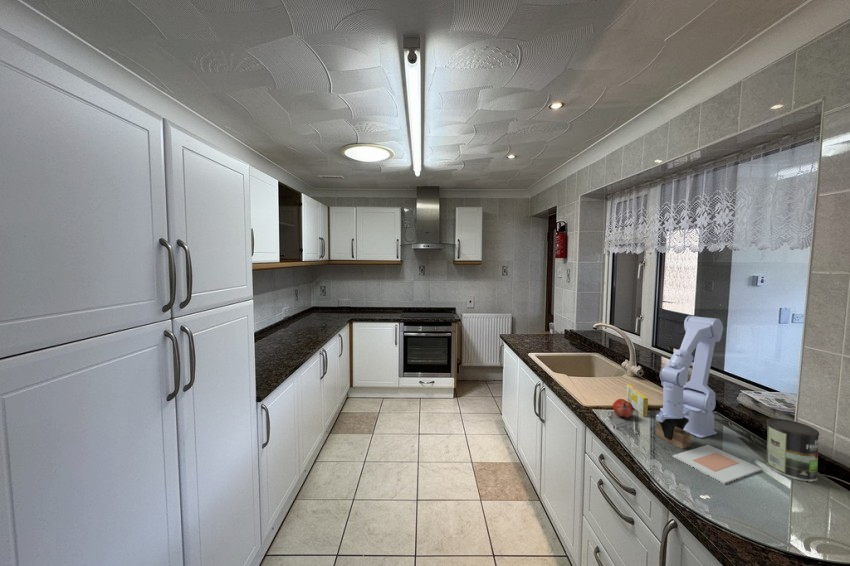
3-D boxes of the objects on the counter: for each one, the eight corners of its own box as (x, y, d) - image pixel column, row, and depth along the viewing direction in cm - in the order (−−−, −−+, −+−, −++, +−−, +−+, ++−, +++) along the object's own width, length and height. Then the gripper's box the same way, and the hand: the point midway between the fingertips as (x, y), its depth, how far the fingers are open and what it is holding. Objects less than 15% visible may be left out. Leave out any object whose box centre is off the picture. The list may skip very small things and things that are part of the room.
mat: (708, 446, 109) (708, 444, 109) (761, 470, 96) (761, 468, 96) (672, 457, 103) (672, 455, 103) (724, 484, 90) (724, 482, 90)
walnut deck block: (663, 434, 117) (663, 420, 117) (690, 446, 109) (690, 432, 109) (655, 436, 116) (656, 422, 116) (682, 449, 108) (682, 434, 107)
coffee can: (823, 476, 93) (825, 429, 92) (809, 486, 88) (810, 438, 88) (774, 457, 102) (775, 415, 101) (759, 465, 98) (760, 422, 97)
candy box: (648, 417, 131) (648, 398, 130) (642, 417, 131) (642, 397, 131) (630, 401, 147) (631, 384, 146) (625, 401, 147) (626, 383, 147)
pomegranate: (610, 416, 136) (612, 410, 129) (612, 400, 139) (614, 393, 132) (631, 422, 132) (633, 417, 125) (632, 406, 135) (635, 399, 128)
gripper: (675, 393, 118) (674, 428, 119) (647, 399, 113) (647, 435, 114) (696, 400, 111) (695, 437, 112) (667, 407, 107) (667, 445, 107)
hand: (672, 437), depth 112 cm, fingers closed on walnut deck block, 4 cm apart
